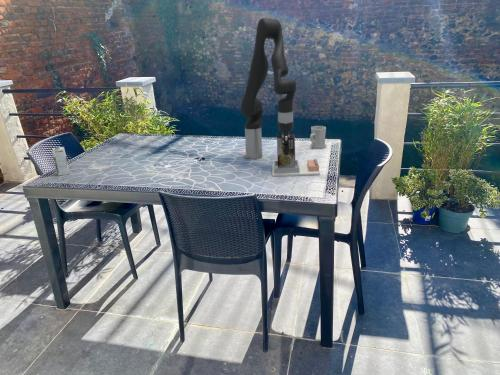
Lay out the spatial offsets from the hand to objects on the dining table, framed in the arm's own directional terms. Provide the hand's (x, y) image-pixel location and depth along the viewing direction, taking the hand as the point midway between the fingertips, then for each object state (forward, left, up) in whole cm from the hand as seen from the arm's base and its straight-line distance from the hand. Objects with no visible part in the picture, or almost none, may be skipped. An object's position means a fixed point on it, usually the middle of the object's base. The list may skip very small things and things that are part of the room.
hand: (286, 152), depth 202 cm
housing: (+5, 0, -10) cm, 11 cm away
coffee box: (0, 0, -7) cm, 7 cm away
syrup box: (-122, +7, -10) cm, 123 cm away
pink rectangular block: (+14, 0, -9) cm, 16 cm away
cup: (+21, +39, -10) cm, 45 cm away
